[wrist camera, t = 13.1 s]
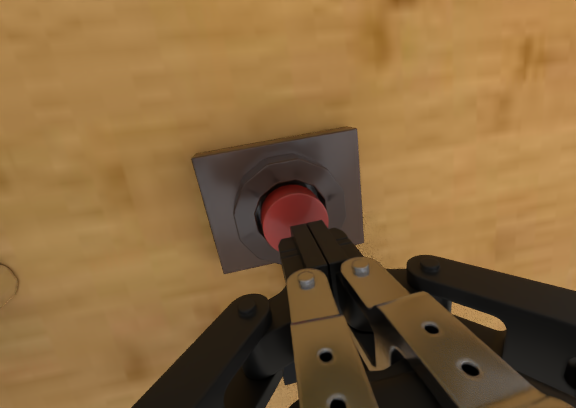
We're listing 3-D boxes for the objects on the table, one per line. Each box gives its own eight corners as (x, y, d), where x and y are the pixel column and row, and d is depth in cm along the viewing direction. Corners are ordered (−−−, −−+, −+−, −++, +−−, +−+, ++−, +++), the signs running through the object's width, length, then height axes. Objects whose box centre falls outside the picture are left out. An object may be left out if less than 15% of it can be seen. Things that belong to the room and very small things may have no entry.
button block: (225, 261, 20) (222, 291, 17) (195, 153, 17) (185, 164, 14) (355, 232, 21) (375, 256, 18) (347, 126, 18) (370, 131, 15)
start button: (266, 246, 17) (269, 261, 15) (254, 190, 16) (256, 200, 14) (323, 234, 17) (332, 247, 16) (316, 178, 16) (325, 187, 14)
